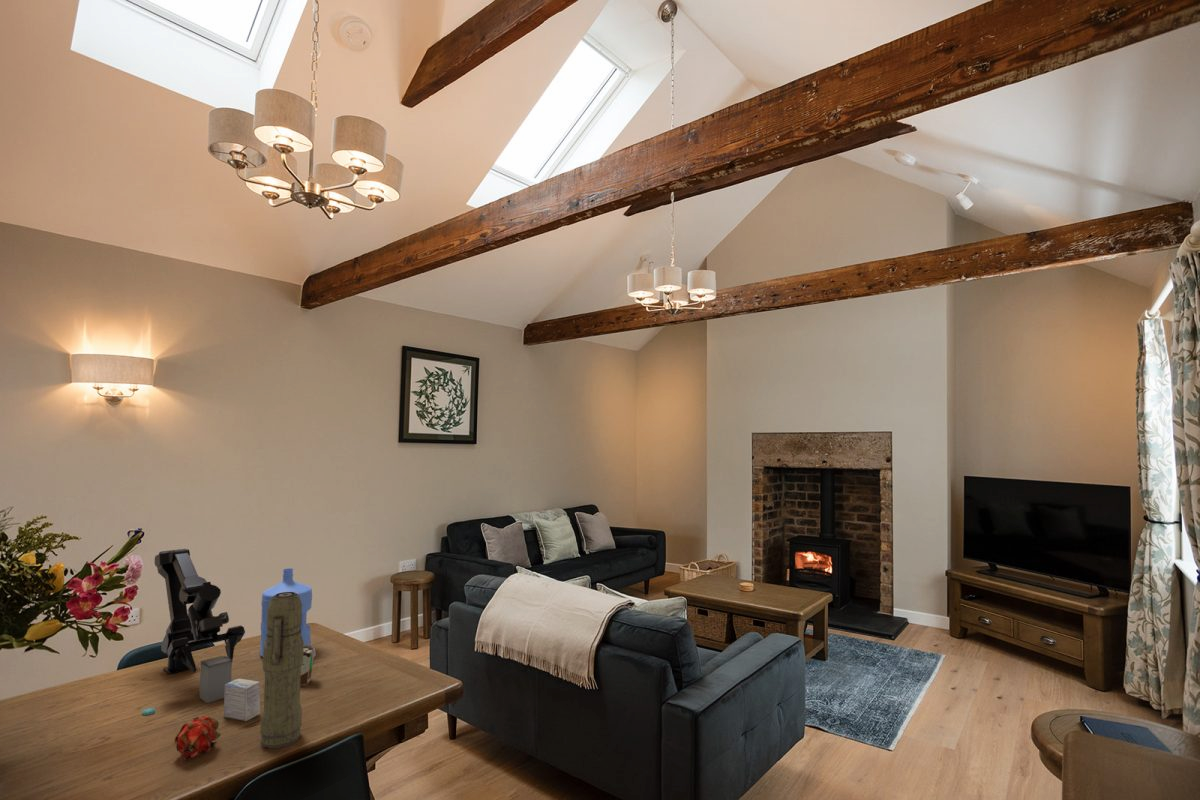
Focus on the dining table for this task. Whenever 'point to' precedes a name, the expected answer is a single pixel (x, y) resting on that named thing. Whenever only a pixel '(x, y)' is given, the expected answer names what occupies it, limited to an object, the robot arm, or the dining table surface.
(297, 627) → the thermos
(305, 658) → the food container
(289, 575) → the water jug
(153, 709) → the teal rounded object
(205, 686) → the grey bordered box
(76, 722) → the dining table surface
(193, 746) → the dragon fruit
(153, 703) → the dining table surface
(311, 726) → the dining table surface
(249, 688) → the medicine box
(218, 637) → the robot arm
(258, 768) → the dining table surface
